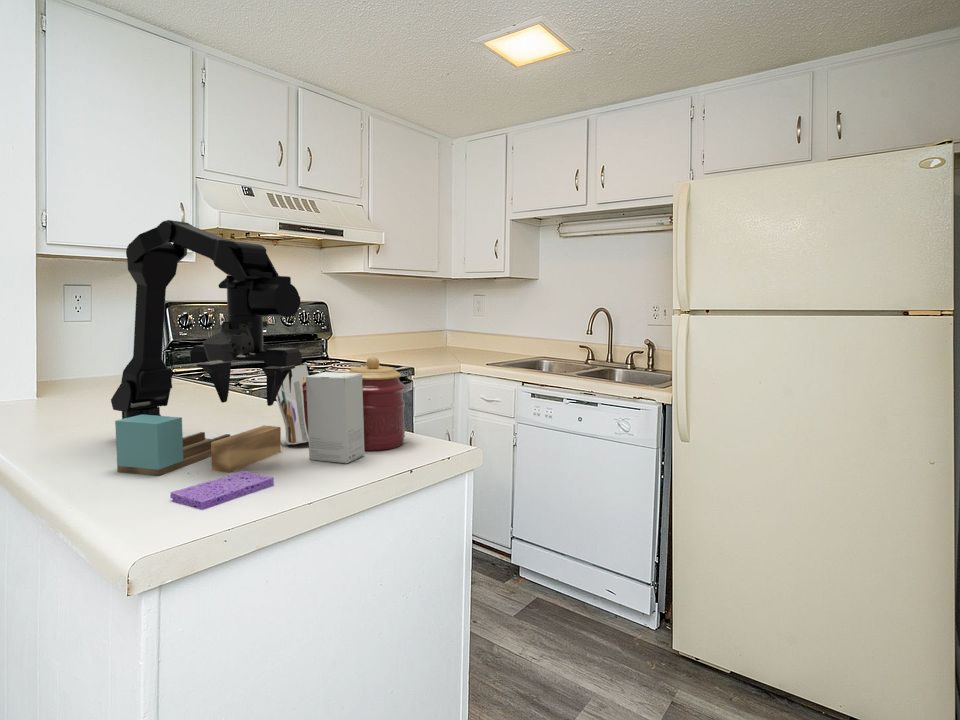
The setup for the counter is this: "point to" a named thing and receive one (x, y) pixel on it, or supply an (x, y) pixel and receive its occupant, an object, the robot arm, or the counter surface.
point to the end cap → (149, 441)
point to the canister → (381, 406)
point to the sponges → (221, 489)
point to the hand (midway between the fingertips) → (246, 403)
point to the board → (193, 451)
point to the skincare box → (335, 416)
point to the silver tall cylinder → (294, 405)
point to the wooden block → (245, 448)
